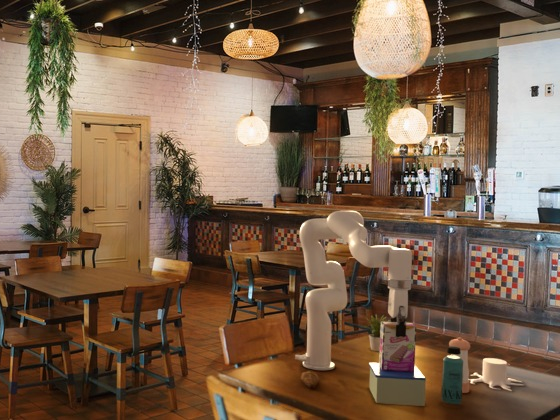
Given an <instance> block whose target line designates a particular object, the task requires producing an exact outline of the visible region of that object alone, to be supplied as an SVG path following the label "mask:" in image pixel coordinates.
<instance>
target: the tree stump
mask: <svg viewBox="0 0 560 420" xmlns="http://www.w3.org/2000/svg"><path fill="white" fill-rule="evenodd" d="M508 365H509V366H510V365H511V364H510V363H508V362H507V361H506V360H503V359H500V358H494V357H493V358H492V357H485V358H482V373H481V374H482V375H481V374H479V372H473V374H469V377H478V378H469V379H468V381H469V382H470V384H472V385H475V386H476V383H484V384H487V385H488V387H489V388H490V389H493V390H499V391H500V390H502V389H503V390H507V391H509V392H513V389H511V386H521V387H522V386H525V384H523V383H524V382H523V381H521V380H517V379H515V378H511V377H508V378H507V376H508V375H507V374H508ZM497 386H498V387H501V388H502V389H501V388H498V387H497ZM496 387H497V388H496Z"/></svg>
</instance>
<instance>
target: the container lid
mask: <svg viewBox="0 0 560 420" xmlns="http://www.w3.org/2000/svg"><path fill="white" fill-rule="evenodd" d="M368 366H369V369H370V368H371V370H372V371H373V373H374V375H375V377H377V378H394V379H412V380H427V379H426V376H425V375H424V374H423V373H422V372H421V370H420V369H419V368H418V367H417V365H416V364H415V366H414V372H404V371H383V370H381V369H380V367H379V362H368Z"/></svg>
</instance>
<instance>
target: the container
mask: <svg viewBox="0 0 560 420" xmlns="http://www.w3.org/2000/svg"><path fill="white" fill-rule="evenodd" d="M426 380H427V379H426ZM426 380H412V379H394V378H377V377H375V375H374V373H373V371H372V370H371V368H370V367H369V391H370V392H371V395H372V397H373V399H374V401H375V403H376V404H384V405H400V406H401V405H402V406H415V407H425V406H426V405H425V404H426V383H427V381H426Z"/></svg>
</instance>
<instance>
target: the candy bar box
mask: <svg viewBox="0 0 560 420" xmlns="http://www.w3.org/2000/svg"><path fill="white" fill-rule="evenodd" d="M396 325H397V322H387V321H386V322H385V321H384V322H381V329H380V351H378V352H379V354H378V355H379V357H378V363H379V367H380V369H381V370H383V371H404V372H414V366H415V365H416V364H415V363H416V343H417V342H416V341H417V325H415V324H414V323H413V322H406V336H405V337H397V336H396Z"/></svg>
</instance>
